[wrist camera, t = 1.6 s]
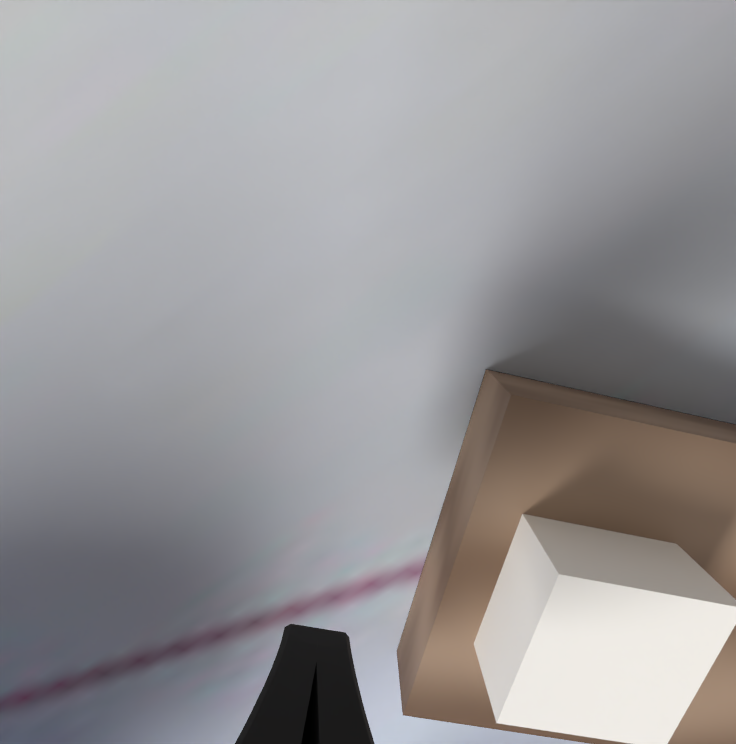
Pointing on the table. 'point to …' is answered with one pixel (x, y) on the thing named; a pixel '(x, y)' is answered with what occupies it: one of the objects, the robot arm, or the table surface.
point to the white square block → (599, 633)
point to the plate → (572, 505)
